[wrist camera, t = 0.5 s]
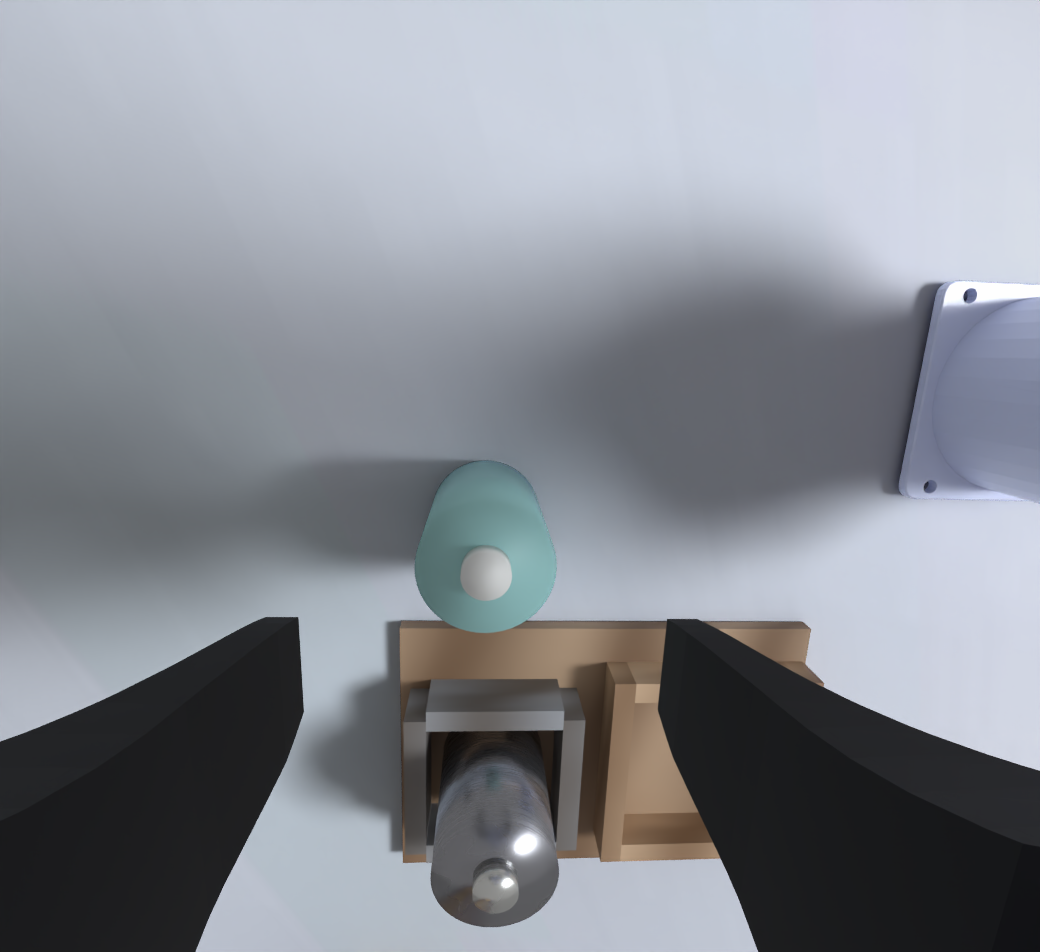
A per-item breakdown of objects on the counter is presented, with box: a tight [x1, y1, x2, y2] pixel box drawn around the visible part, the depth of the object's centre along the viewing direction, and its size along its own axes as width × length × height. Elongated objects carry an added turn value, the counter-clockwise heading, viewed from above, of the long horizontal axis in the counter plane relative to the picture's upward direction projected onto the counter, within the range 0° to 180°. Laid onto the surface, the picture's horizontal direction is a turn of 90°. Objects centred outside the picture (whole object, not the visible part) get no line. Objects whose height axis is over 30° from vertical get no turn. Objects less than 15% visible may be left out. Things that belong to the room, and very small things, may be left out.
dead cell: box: [431, 730, 559, 927], centre depth 19 cm, size 4×4×6 cm
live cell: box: [415, 461, 557, 633], centre depth 18 cm, size 4×4×6 cm
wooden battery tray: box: [400, 621, 824, 863], centre depth 22 cm, size 16×11×3 cm
